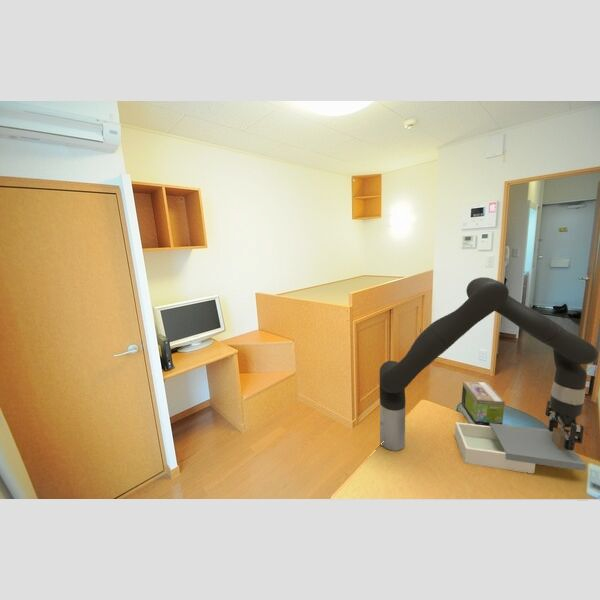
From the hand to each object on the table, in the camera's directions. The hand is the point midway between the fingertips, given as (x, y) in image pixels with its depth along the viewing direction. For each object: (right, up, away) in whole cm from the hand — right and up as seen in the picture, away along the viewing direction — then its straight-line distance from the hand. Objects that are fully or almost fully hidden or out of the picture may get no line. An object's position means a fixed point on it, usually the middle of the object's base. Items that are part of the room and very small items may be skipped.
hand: (560, 439), depth 89 cm
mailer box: (-18, -9, +8) cm, 21 cm away
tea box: (-11, -5, +24) cm, 27 cm away
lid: (-7, -4, +3) cm, 9 cm away
